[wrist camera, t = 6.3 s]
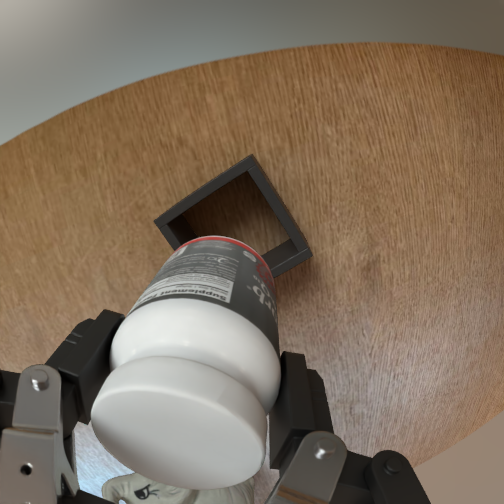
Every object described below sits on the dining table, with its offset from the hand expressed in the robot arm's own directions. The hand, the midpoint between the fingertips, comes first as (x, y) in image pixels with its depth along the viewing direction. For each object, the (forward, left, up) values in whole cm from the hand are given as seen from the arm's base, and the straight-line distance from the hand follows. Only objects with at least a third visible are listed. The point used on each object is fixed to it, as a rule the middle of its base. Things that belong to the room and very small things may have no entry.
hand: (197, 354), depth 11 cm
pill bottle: (0, 0, -6) cm, 6 cm away
